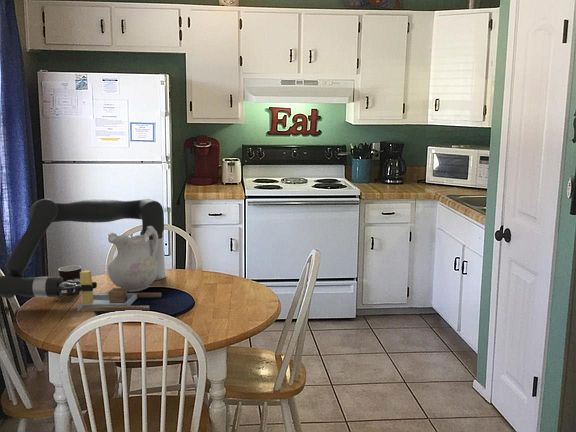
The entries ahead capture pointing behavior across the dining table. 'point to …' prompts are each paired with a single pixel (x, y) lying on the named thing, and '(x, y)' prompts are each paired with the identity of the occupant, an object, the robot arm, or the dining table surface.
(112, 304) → the shallow grey tray
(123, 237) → the ceramic pitcher
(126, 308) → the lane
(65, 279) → the coffee mug
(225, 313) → the dining table surface
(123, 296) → the block
